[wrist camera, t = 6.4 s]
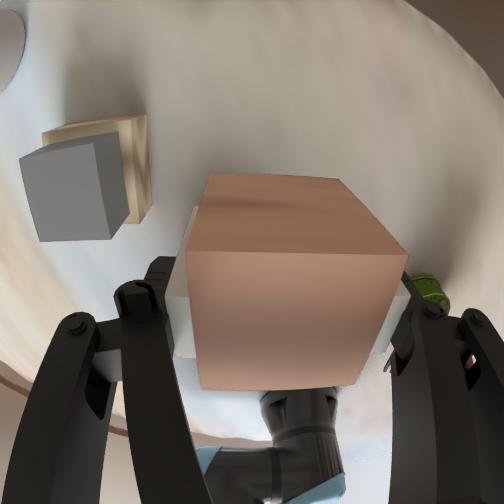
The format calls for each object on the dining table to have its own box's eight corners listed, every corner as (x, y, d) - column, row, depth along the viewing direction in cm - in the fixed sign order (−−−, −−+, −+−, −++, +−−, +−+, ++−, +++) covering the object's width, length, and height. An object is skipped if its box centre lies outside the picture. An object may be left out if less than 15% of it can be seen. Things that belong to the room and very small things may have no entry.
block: (319, 282, 17) (354, 384, 11) (212, 281, 16) (201, 389, 10) (338, 178, 14) (408, 255, 7) (210, 172, 13) (184, 250, 7)
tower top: (129, 213, 27) (111, 239, 22) (63, 218, 26) (39, 241, 22) (118, 131, 22) (93, 143, 18) (48, 144, 22) (18, 159, 18)
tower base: (152, 203, 32) (139, 223, 27) (77, 205, 31) (57, 224, 27) (147, 113, 26) (130, 119, 22) (66, 124, 26) (41, 133, 22)
